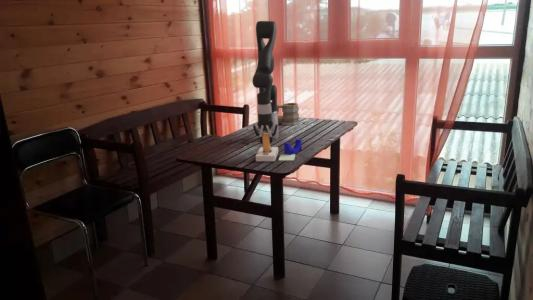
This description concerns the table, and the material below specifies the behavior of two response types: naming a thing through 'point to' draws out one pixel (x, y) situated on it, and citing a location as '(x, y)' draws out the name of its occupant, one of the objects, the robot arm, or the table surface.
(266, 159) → the white slab with hole
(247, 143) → the table surface
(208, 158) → the table surface
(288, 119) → the tankard
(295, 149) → the cable clip
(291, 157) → the mat
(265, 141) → the plug
